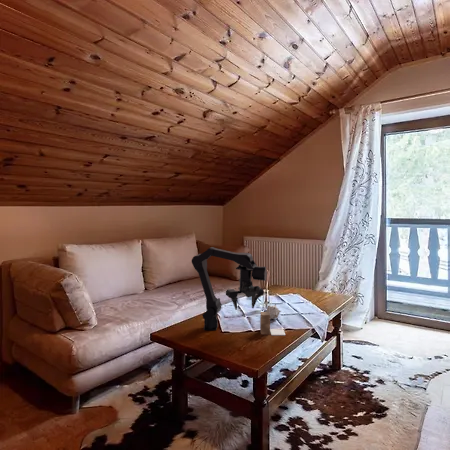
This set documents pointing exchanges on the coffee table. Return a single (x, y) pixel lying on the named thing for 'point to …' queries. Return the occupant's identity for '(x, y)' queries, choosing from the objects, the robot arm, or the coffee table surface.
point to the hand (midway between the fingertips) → (244, 308)
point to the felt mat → (277, 332)
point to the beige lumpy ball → (273, 311)
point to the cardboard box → (265, 322)
